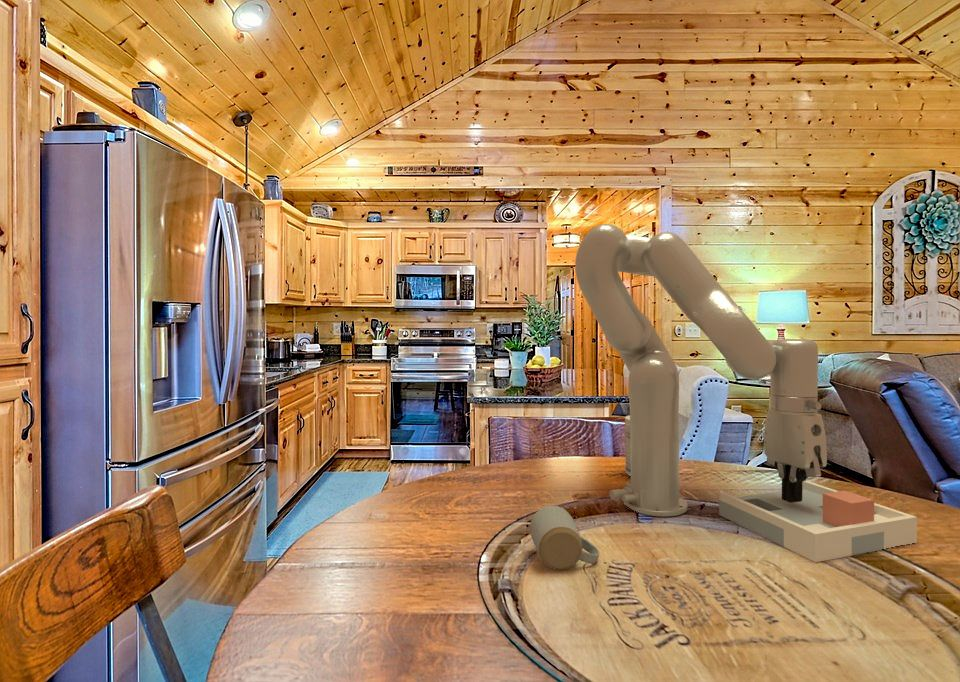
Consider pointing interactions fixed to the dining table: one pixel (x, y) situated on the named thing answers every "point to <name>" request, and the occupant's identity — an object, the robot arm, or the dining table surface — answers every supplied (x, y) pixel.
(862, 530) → the board
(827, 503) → the block
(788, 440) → the robot arm
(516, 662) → the dining table surface
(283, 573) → the dining table surface
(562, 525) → the ceramic mug
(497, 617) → the dining table surface
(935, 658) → the dining table surface
